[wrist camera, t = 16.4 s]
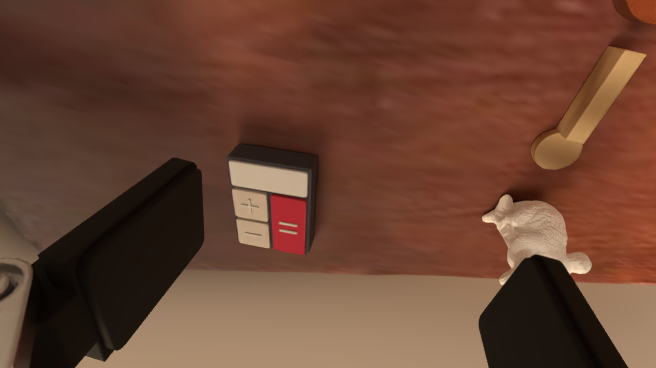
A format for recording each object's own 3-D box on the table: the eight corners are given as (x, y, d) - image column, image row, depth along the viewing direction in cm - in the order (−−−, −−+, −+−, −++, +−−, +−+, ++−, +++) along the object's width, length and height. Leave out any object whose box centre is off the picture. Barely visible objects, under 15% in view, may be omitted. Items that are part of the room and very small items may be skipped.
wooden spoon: (593, 42, 28) (610, 46, 26) (642, 53, 28) (663, 57, 26) (522, 159, 35) (531, 170, 33) (561, 169, 35) (572, 180, 33)
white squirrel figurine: (471, 230, 41) (496, 305, 31) (477, 187, 38) (507, 256, 28) (543, 231, 39) (593, 312, 29) (555, 186, 36) (618, 260, 26)
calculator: (235, 245, 46) (222, 158, 37) (247, 226, 49) (237, 142, 41) (307, 259, 45) (310, 172, 36) (314, 238, 48) (318, 155, 40)
